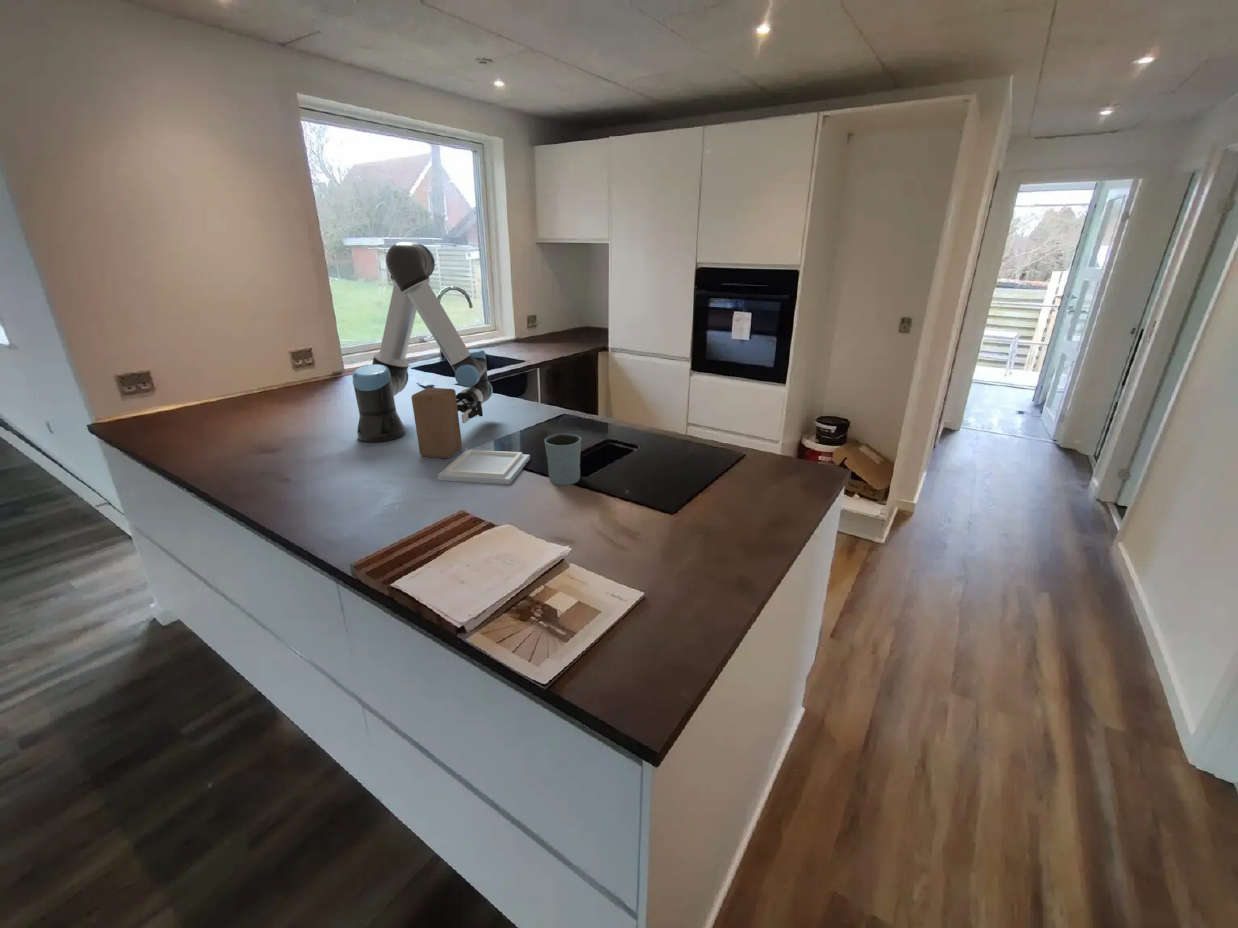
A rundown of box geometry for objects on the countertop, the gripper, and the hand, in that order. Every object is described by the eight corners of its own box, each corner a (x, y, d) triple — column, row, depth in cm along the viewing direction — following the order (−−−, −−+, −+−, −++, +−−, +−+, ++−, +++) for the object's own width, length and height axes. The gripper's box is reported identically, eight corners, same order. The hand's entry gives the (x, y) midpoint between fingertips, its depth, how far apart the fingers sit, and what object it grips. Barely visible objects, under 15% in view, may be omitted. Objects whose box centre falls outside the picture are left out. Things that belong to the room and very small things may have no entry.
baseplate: (465, 455, 170) (464, 448, 169) (530, 459, 167) (529, 451, 166) (438, 480, 152) (437, 471, 152) (509, 484, 150) (509, 476, 149)
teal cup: (554, 489, 147) (552, 447, 142) (541, 475, 155) (539, 436, 151) (588, 481, 151) (587, 441, 147) (574, 469, 159) (572, 430, 155)
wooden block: (448, 459, 167) (440, 396, 159) (419, 457, 169) (409, 394, 161) (463, 448, 176) (456, 388, 168) (435, 446, 178) (427, 386, 170)
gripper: (503, 411, 189) (481, 431, 170) (436, 409, 192) (406, 428, 173) (502, 390, 186) (479, 408, 167) (433, 388, 189) (403, 405, 170)
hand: (442, 418), depth 170 cm, fingers open, 13 cm apart
